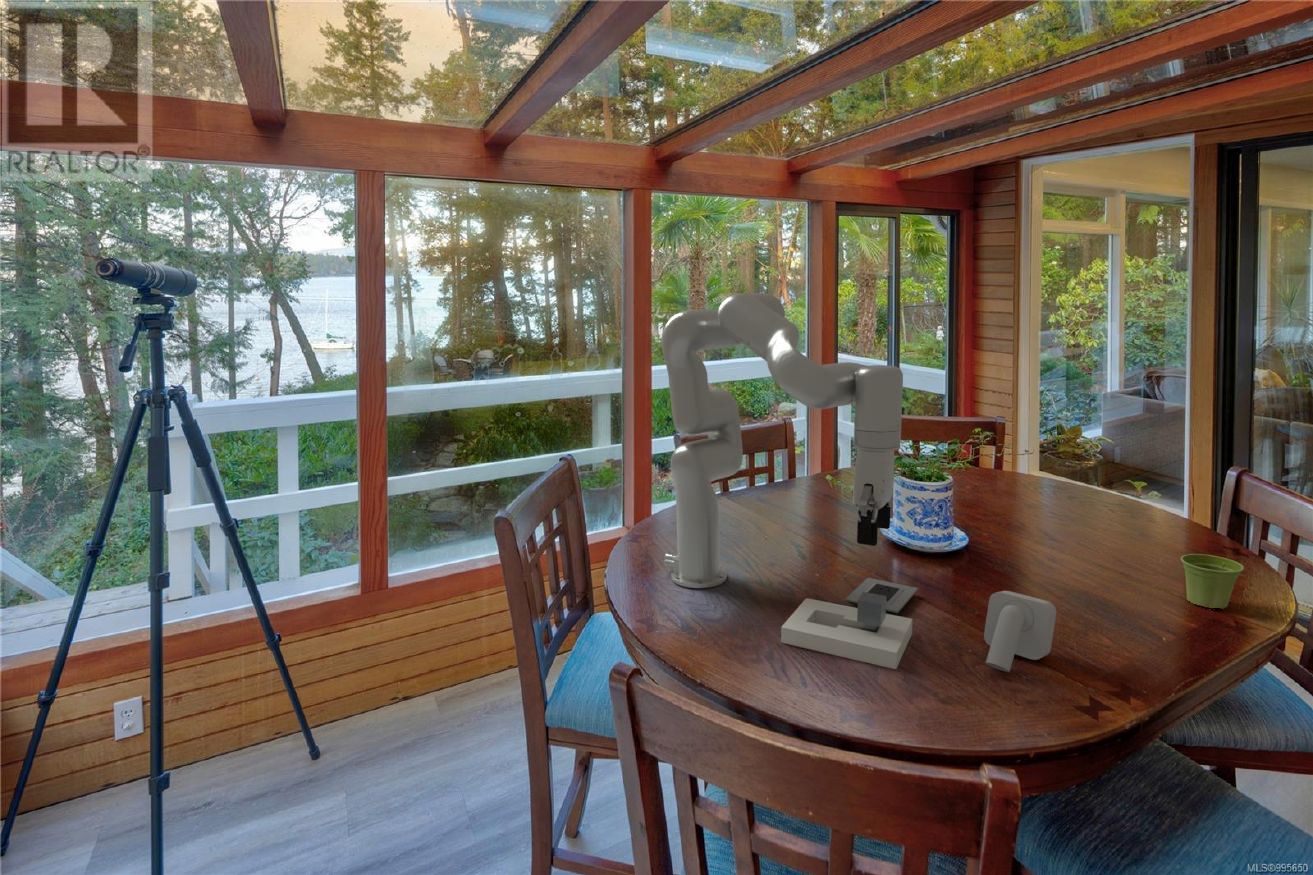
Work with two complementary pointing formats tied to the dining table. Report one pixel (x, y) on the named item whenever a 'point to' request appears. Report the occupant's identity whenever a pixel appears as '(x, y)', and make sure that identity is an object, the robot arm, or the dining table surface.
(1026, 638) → the wall hook
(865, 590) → the electrical outlet
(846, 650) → the keyhole plate
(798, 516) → the dining table surface
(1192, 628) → the dining table surface
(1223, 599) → the plant pot
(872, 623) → the keyhole peg
